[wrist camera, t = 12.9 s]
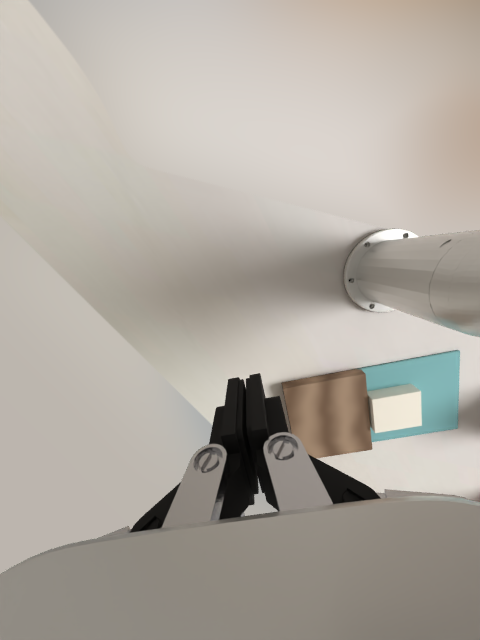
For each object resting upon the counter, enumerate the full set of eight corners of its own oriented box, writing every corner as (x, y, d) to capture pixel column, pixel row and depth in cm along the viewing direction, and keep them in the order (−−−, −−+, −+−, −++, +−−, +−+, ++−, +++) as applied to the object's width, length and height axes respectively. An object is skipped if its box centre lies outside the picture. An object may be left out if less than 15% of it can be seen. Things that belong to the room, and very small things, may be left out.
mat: (457, 350, 39) (459, 351, 39) (455, 426, 44) (457, 428, 43) (357, 368, 41) (358, 369, 40) (364, 441, 45) (365, 443, 44)
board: (359, 368, 41) (365, 373, 39) (366, 441, 45) (372, 449, 43) (281, 382, 42) (283, 388, 40) (295, 452, 46) (297, 461, 44)
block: (411, 383, 41) (421, 391, 39) (412, 416, 43) (421, 425, 40) (365, 391, 41) (372, 399, 39) (368, 423, 43) (375, 433, 41)
